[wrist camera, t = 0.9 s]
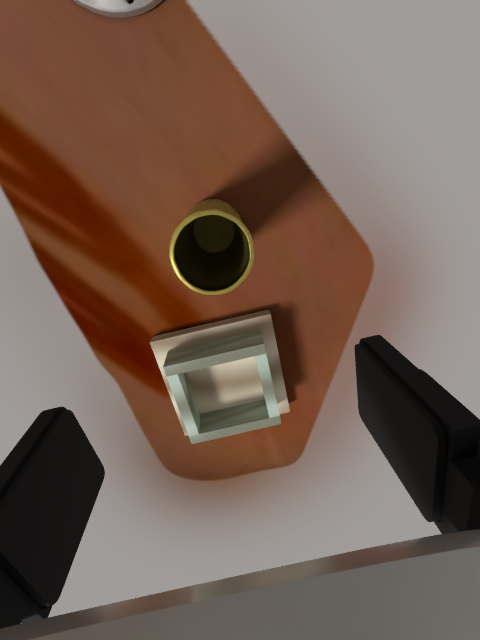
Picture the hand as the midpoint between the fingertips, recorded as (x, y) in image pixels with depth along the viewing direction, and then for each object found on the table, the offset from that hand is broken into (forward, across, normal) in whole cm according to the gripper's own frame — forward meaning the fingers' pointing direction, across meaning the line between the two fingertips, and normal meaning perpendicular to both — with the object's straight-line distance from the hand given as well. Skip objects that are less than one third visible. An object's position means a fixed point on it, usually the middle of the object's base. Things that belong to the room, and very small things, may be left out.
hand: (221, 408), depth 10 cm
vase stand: (+24, +2, +15) cm, 28 cm away
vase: (+25, 0, -2) cm, 25 cm away
